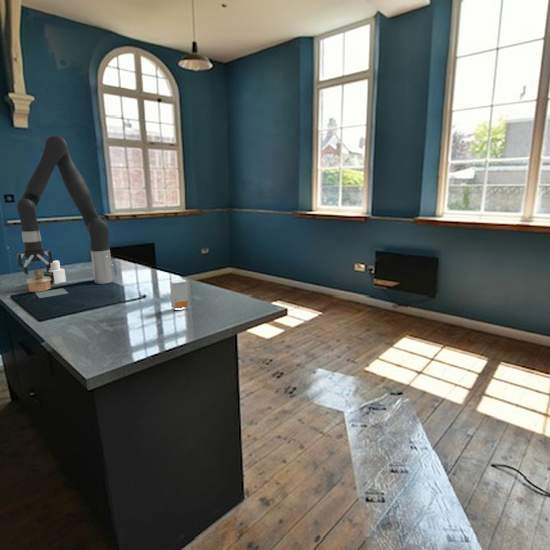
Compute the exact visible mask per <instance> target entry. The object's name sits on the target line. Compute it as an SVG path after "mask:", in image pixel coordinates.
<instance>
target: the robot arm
mask: <svg viewBox="0 0 550 550" xmlns="http://www.w3.org/2000/svg"><path fill="white" fill-rule="evenodd" d="M68 147H69V146H68V143H67V141H66V139H64V138H63V137H62V136H59V135H50V136H48V137H47V138H46V140H45V142H44V149H43V151H42V152H43V153H42V155H41V158H40V160H39V163H38V164H37V166H36V167H35V169H34V171H33V173H32V174H31V176H30V178H29V180H28V182H27V185H26V187H25V191H24V192H23V195H22V196H21V198H20V199H19V200H17V203H16V209H17V213H18V218H19V219H20V227H21V238H22V243H23V249H24V253H17V255H16V256H17V265H18V266H19V267H21V268H23V272H24V275H27V276H28V275H29V269H28V267H27V266H28V265H29V264H30V263H31V262H40V261H42V262H44V263H45V264H44V266H45V270H46V272H49V271H50V268H49V264H50V263H52V262H53V255H52V252H51V251H50V250H46V251H44V249H43V247H44V246H43V242H42V237H41V232H40V227H39V222H38V219H37V215H36V210H37V207H38V205H39V203H40V199H41V197H42V195H43V194H44V193H45V190H46V188H47V185H48V184H49V182H50V179H51V176H52V174H53V172H54V170H55V168H56V167H57V169H58V171H59V173H60V176H61V179H62V182H63V184H64V187H65V188H66V190H67V193H68V194H69V196H70V198H71V200H72V201H73V204H74V205H75V207H76V208H77V210H78V211H79V213H80V215H81V217H82V220H83V222H84V225H85V228H86V230H87V232H88V234H89V237H90V240H89V241H90V246H89V247H90V257H91V264H92V272H93V280H94V283H95V284H99V285H101V284H109V283H110V284H111V283H113V282H115V273H114V272H115V271H114V264H113V262H112V256H111V255H112V254H111V250H110V249H111V248H110V245H111V237H110V229H109V225H108V223H107V222H106V221H105V220H102V218H101V217H100V216H99V214H98V212H97V210H96V208H95V205H94V202H93V198H92V194H91V192H90V189H89V187H88V185H87V183H86V181H85V179H84V177H83V176H82V174H81V173H80V171H79V169H78V168H77V167H76V165H75V163H74V162H73V159H72V157H71V154H70V151H69V148H68ZM45 255H46V256H47V257H48V260H46V259H45V258H44V256H45ZM24 257H25V258H26V260H25V261H24V262H23V263H22V259H23V258H24Z"/></svg>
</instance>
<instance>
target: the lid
mask: <svg viewBox="0 0 550 550" xmlns="http://www.w3.org/2000/svg"><path fill="white" fill-rule="evenodd" d="M33 273H34V277H31V278H27V279H26V280H25V281H26V282H25V283H26V284H27V285H28V284H39V283H45V282H49V281H51V277H48V276H44V275H43V276H42V270H41V269H35V270H33Z"/></svg>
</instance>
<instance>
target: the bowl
mask: <svg viewBox="0 0 550 550" xmlns="http://www.w3.org/2000/svg"><path fill="white" fill-rule="evenodd" d="M51 285H52V284H50V281H49V282H45V283H39V284H28V283H27V287H28V291H29V293H31V292H32V293H33V292H34V293H36V292H42V291H49V290H50V289H51V290H52V286H51Z"/></svg>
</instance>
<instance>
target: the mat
mask: <svg viewBox="0 0 550 550" xmlns="http://www.w3.org/2000/svg"><path fill="white" fill-rule="evenodd" d="M35 294H36V296H37V297H38V299H42V298H47V297H48V298H49V297H55V296H60V295H61V296H62V295H65V294H69V292H68V291H67V290H66V289H64V288H63V287H62V288H57V289H51V290H50V289H48V290H45V291H39V292H35Z"/></svg>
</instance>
